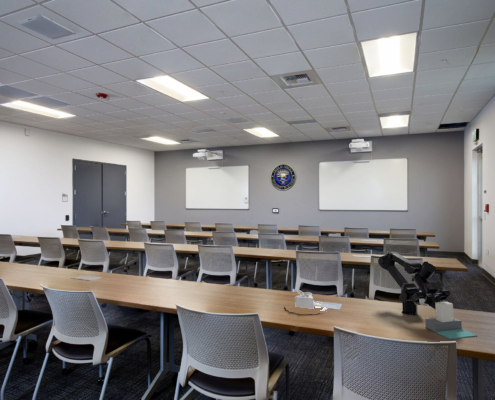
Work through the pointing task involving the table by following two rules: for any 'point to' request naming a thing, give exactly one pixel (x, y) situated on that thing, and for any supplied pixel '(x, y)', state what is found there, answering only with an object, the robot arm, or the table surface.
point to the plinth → (442, 324)
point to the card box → (444, 311)
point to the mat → (456, 334)
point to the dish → (306, 301)
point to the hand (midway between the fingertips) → (440, 312)
